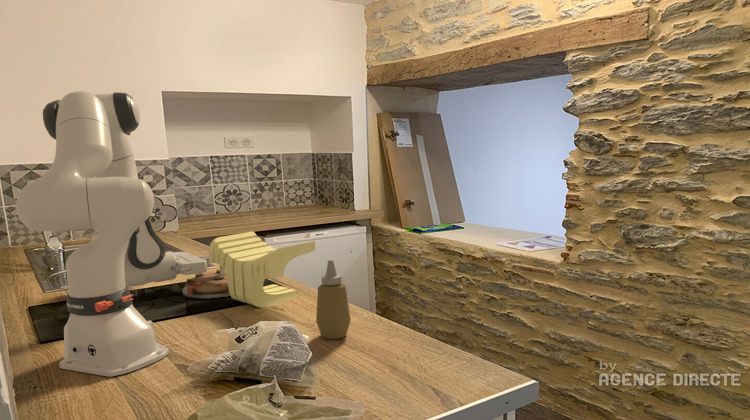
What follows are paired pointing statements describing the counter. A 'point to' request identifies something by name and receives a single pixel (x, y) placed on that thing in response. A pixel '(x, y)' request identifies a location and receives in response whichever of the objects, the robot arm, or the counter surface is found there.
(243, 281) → the slatted curved stool
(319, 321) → the squeeze bottle
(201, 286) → the brown piece
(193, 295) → the base plate
